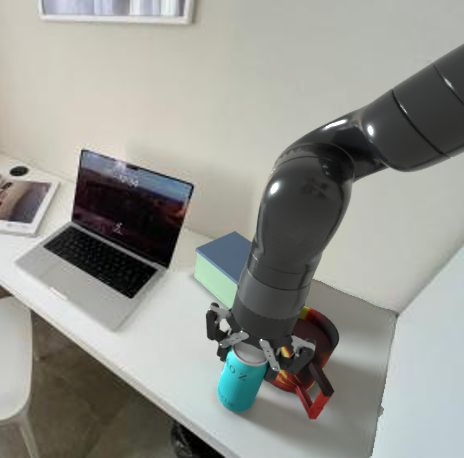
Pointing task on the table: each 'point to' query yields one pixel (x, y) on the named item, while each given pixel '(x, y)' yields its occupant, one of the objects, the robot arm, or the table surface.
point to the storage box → (215, 281)
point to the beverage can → (241, 377)
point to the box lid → (227, 254)
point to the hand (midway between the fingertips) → (244, 366)
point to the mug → (311, 361)
